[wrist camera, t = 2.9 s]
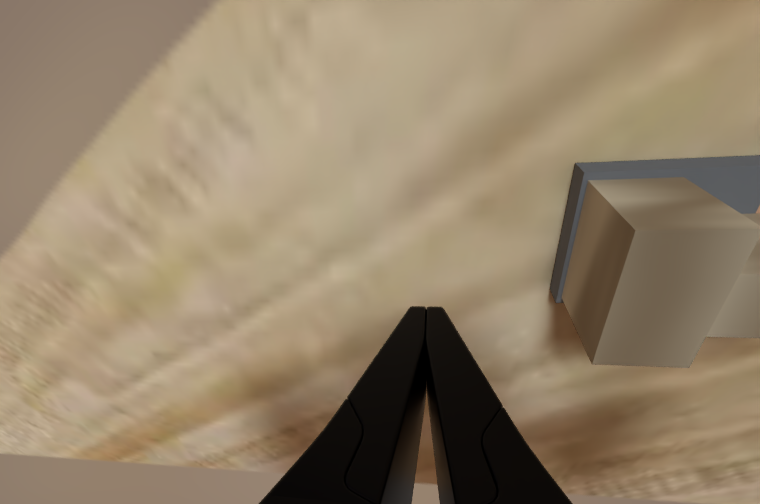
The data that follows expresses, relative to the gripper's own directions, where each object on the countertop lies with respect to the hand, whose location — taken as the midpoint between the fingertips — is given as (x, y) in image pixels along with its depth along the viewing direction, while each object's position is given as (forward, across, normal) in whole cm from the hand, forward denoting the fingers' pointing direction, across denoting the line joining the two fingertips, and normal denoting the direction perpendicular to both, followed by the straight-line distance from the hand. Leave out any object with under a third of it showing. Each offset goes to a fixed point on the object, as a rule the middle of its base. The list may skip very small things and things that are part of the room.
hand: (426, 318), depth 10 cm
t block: (+4, -8, 0) cm, 9 cm away
